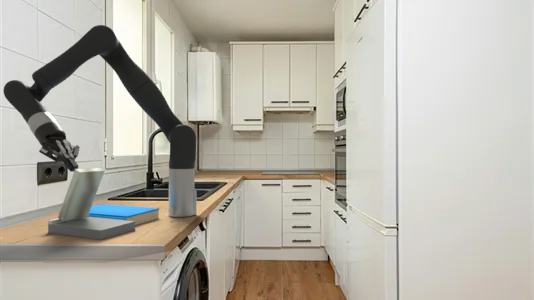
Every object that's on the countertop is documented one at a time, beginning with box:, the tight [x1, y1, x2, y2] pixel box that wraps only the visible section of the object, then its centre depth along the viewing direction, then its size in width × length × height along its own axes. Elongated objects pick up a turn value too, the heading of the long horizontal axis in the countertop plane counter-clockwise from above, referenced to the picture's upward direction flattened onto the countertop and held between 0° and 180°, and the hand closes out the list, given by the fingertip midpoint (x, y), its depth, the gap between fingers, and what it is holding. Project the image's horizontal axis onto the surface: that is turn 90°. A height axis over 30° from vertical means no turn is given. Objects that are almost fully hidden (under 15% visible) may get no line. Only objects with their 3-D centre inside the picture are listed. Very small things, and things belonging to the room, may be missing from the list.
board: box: [47, 214, 136, 241], centre depth 105 cm, size 13×20×4 cm, turn 69°
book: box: [89, 203, 160, 226], centre depth 122 cm, size 17×4×25 cm
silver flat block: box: [57, 167, 105, 221], centre depth 107 cm, size 9×16×2 cm
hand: (74, 169), depth 108 cm, fingers closed
